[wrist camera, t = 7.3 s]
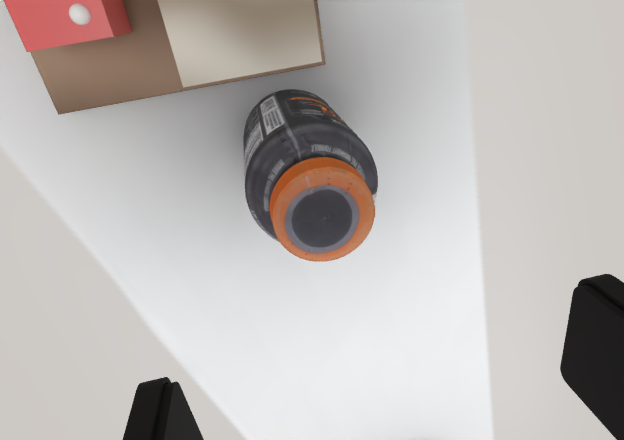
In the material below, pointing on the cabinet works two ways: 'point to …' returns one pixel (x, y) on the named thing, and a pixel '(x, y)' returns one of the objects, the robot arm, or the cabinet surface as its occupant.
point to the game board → (183, 50)
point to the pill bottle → (308, 176)
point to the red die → (67, 21)
